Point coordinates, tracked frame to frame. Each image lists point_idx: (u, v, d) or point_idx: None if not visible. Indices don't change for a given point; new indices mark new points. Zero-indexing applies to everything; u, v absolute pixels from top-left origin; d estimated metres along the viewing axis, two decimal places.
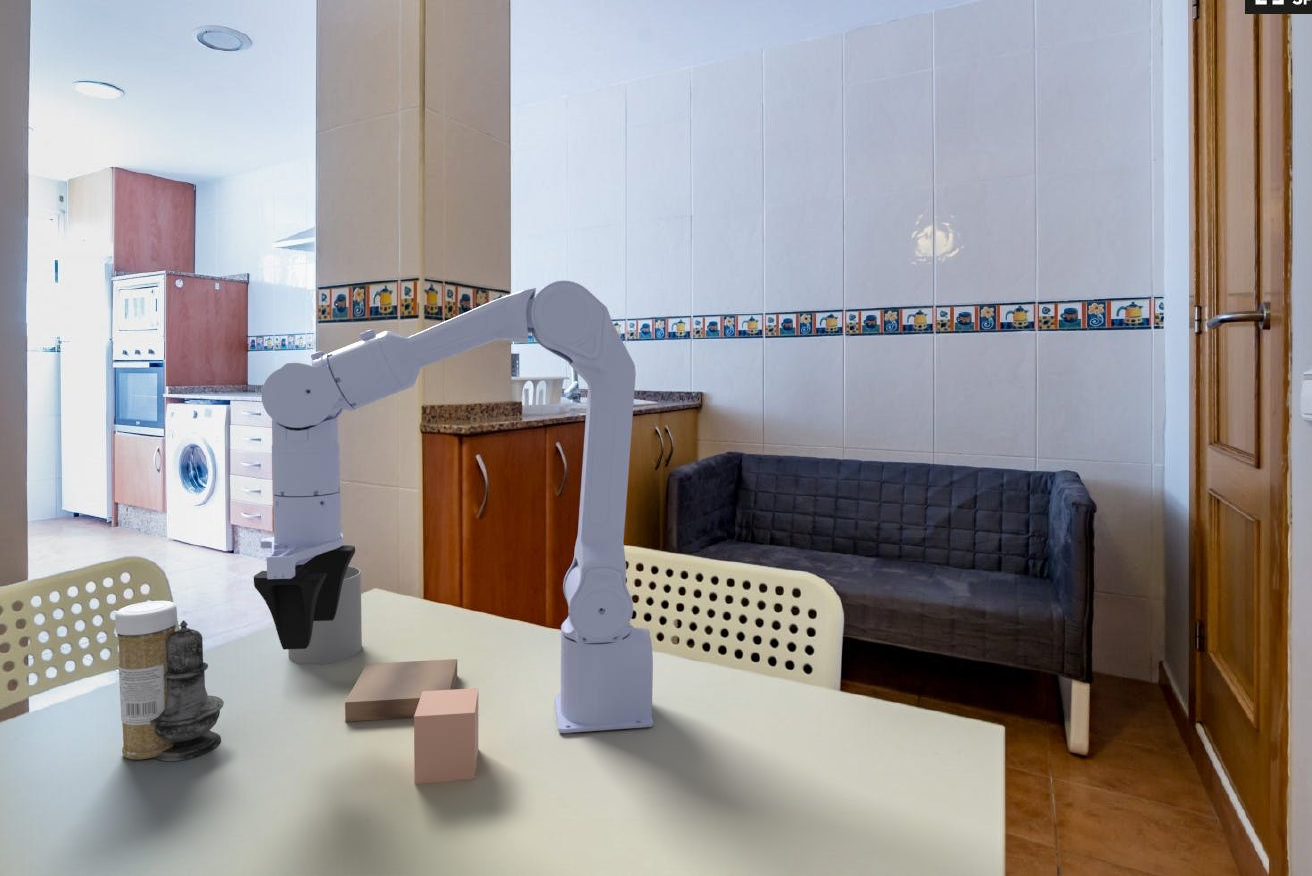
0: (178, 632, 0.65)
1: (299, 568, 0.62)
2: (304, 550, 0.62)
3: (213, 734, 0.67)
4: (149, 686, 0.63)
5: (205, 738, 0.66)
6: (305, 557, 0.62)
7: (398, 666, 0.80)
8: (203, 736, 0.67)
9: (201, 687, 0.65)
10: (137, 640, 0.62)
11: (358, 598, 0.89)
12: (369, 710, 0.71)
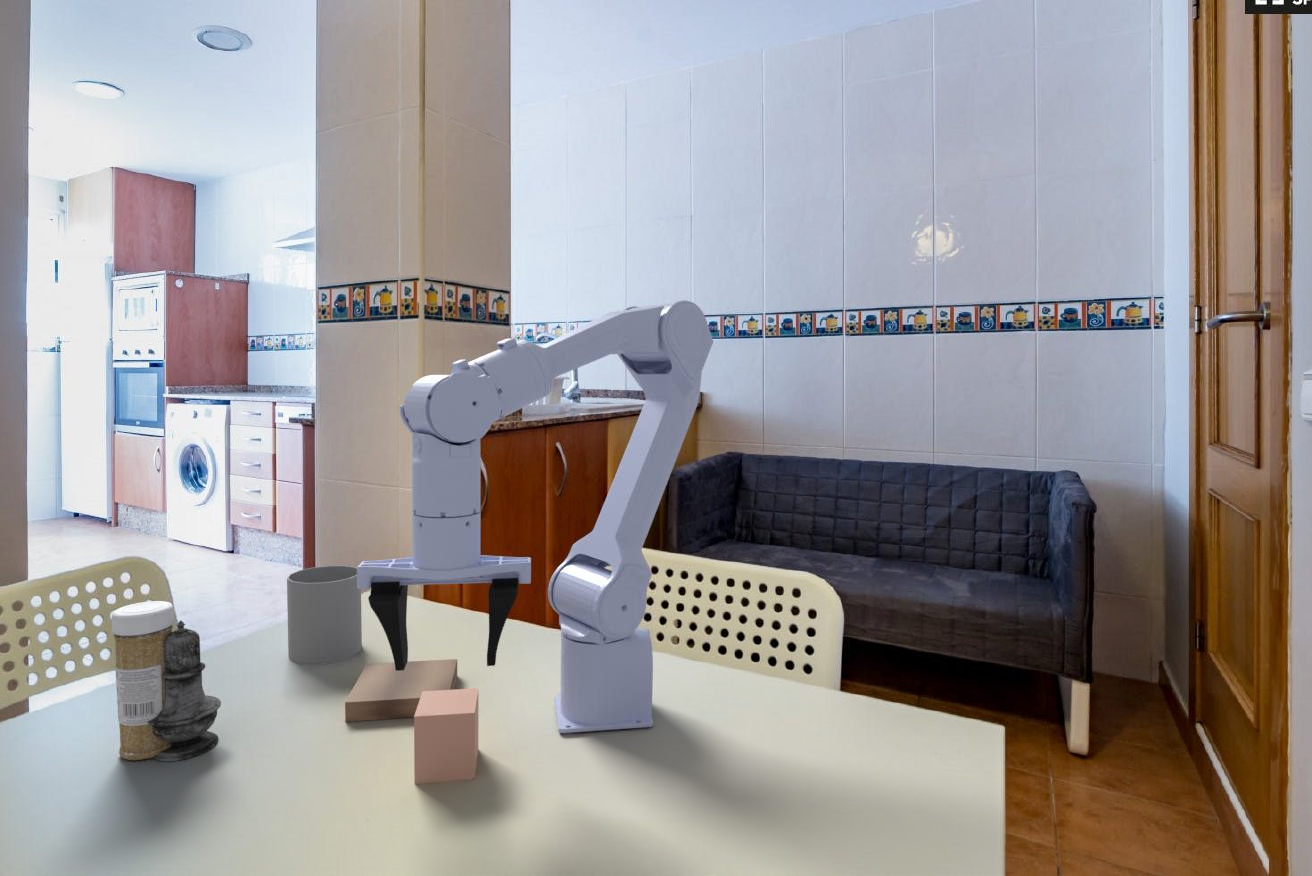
0: (175, 632, 0.64)
1: (386, 584, 0.60)
2: (385, 567, 0.60)
3: (210, 734, 0.67)
4: (146, 686, 0.63)
5: (202, 738, 0.66)
6: (383, 574, 0.60)
7: None
8: (200, 736, 0.67)
9: (199, 687, 0.65)
10: (134, 640, 0.62)
11: (358, 598, 0.89)
12: (369, 710, 0.71)
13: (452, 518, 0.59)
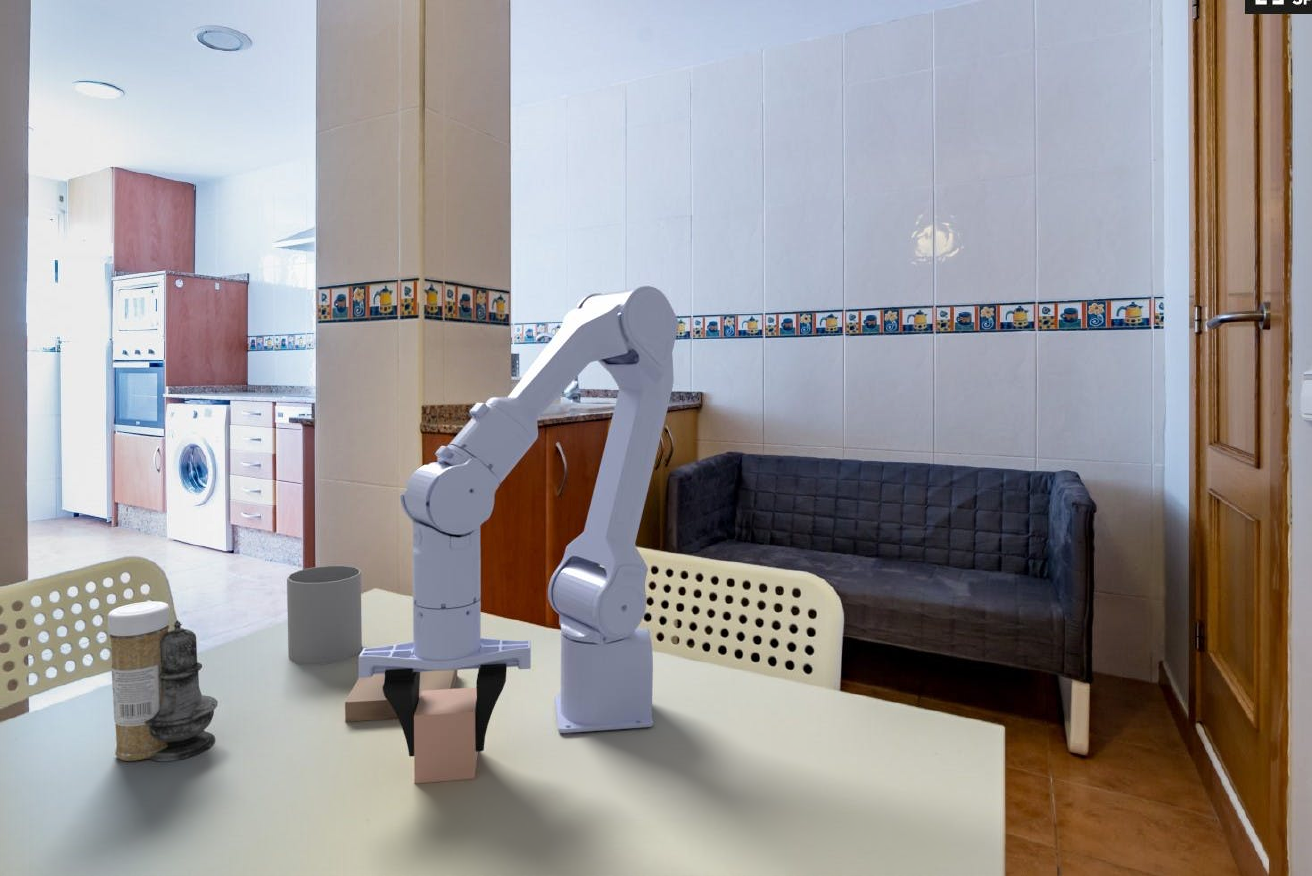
0: (172, 632, 0.64)
1: (387, 672, 0.61)
2: (386, 656, 0.60)
3: (207, 734, 0.67)
4: (143, 687, 0.63)
5: (199, 738, 0.66)
6: (384, 664, 0.60)
7: None
8: (197, 736, 0.67)
9: (196, 686, 0.65)
10: (131, 640, 0.62)
11: (358, 598, 0.89)
12: (369, 710, 0.71)
13: (452, 609, 0.60)
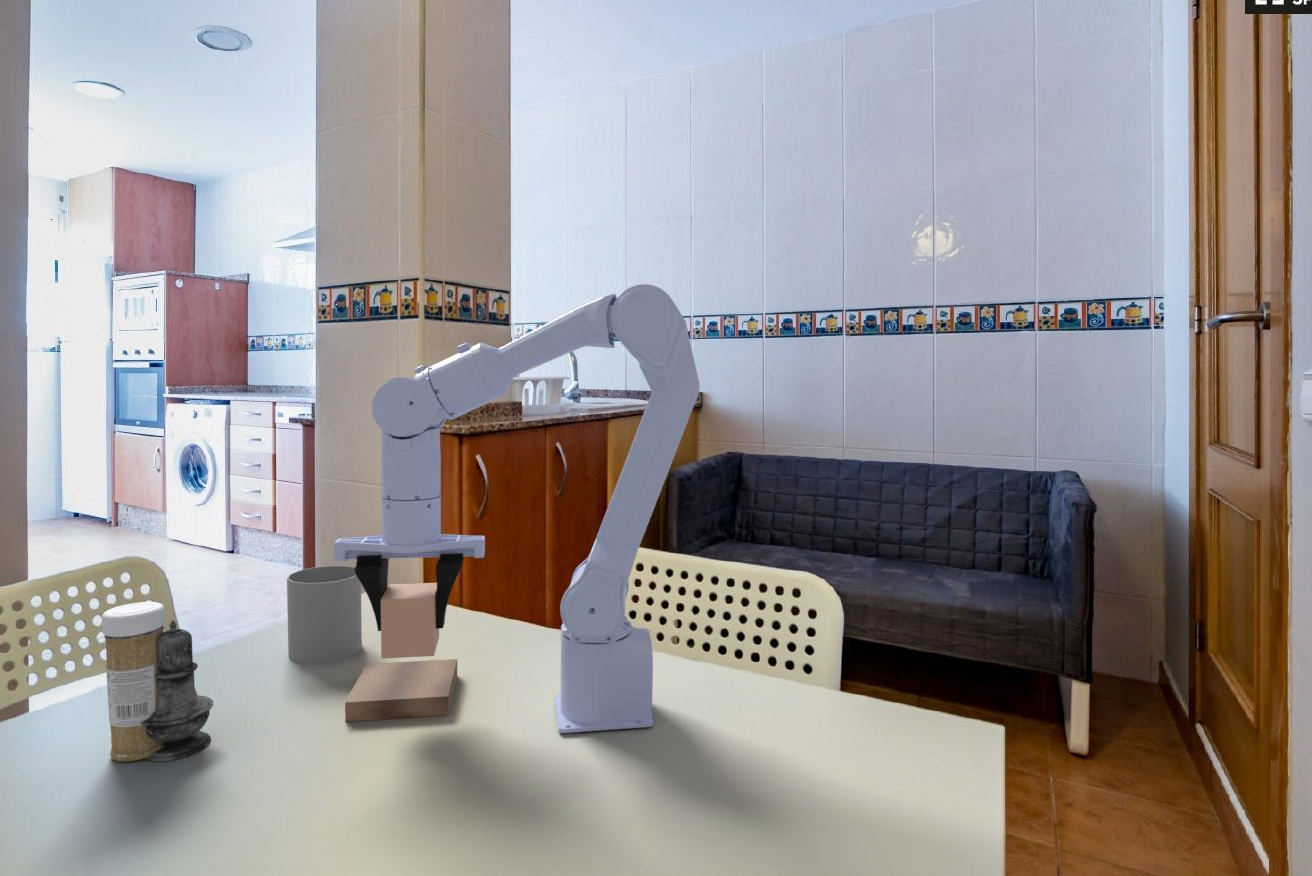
0: (168, 632, 0.64)
1: (359, 557, 0.71)
2: (358, 542, 0.70)
3: (202, 733, 0.67)
4: (140, 687, 0.63)
5: (195, 737, 0.66)
6: (356, 549, 0.70)
7: (398, 666, 0.80)
8: (192, 736, 0.67)
9: (192, 686, 0.66)
10: (127, 641, 0.62)
11: (358, 598, 0.89)
12: (369, 710, 0.71)
13: (415, 501, 0.70)
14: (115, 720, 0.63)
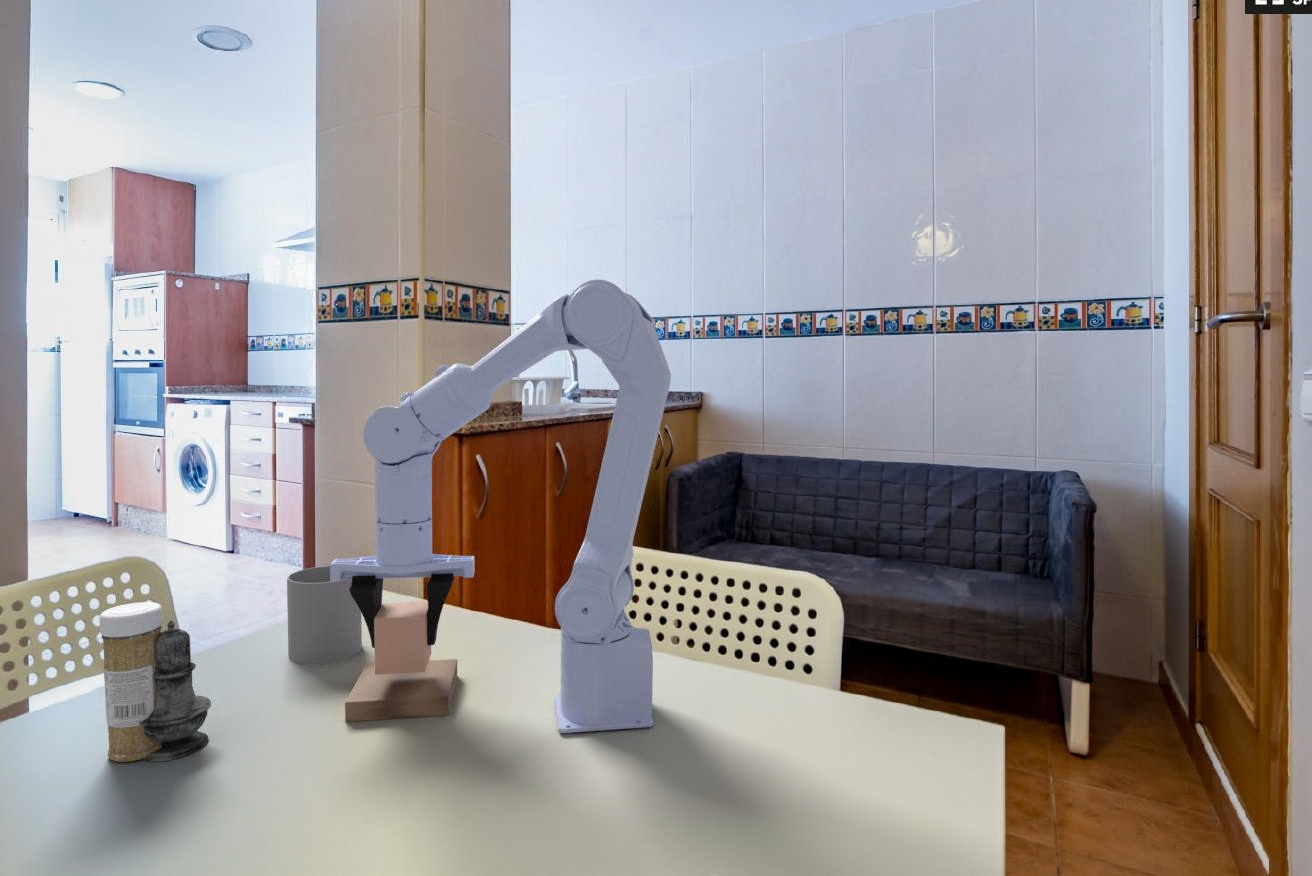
0: (166, 632, 0.64)
1: (354, 578, 0.74)
2: (353, 564, 0.74)
3: (200, 733, 0.67)
4: (138, 687, 0.63)
5: (193, 737, 0.66)
6: (351, 570, 0.74)
7: None
8: (190, 736, 0.67)
9: (190, 686, 0.66)
10: (126, 641, 0.62)
11: None
12: (369, 710, 0.71)
13: (407, 524, 0.73)
14: (113, 720, 0.62)
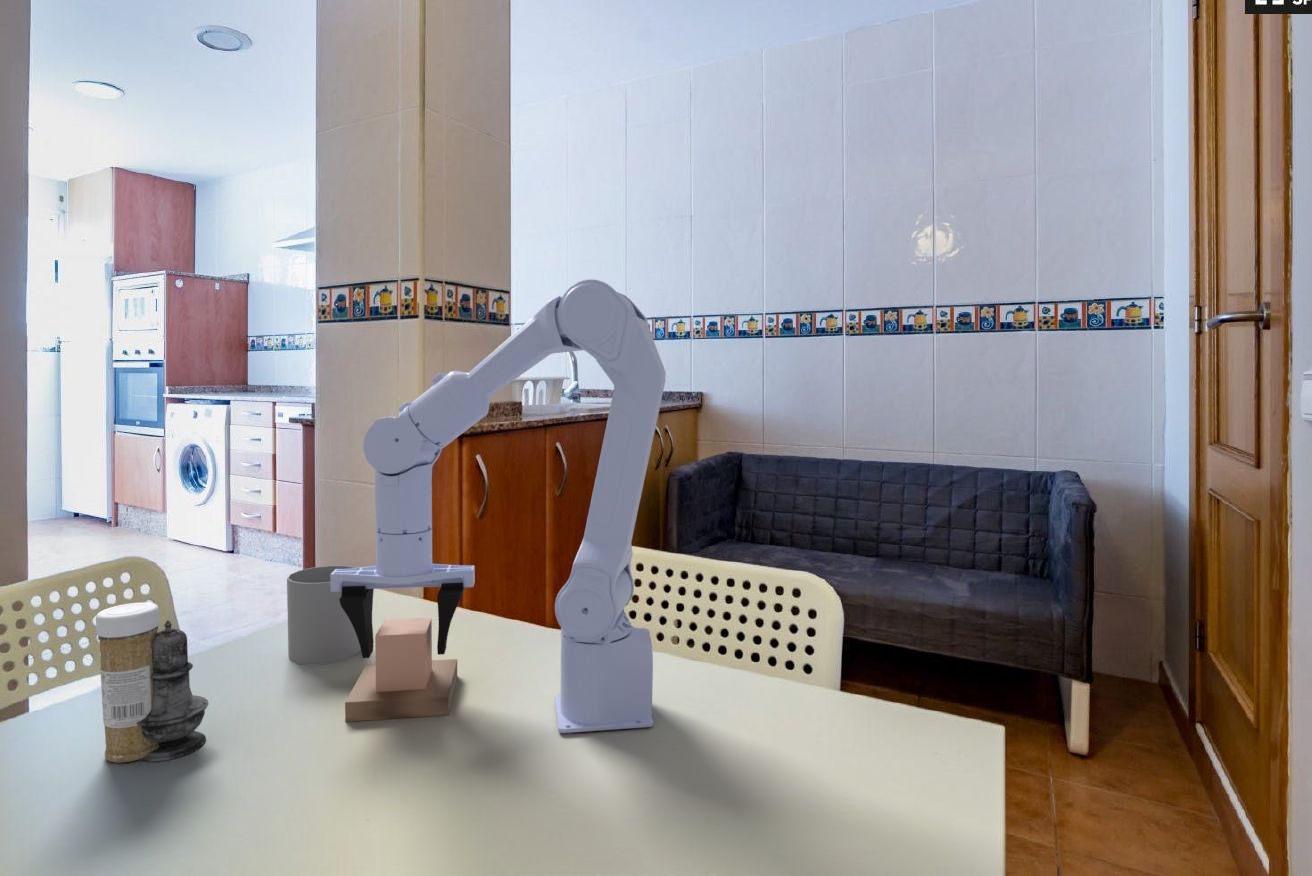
0: (163, 632, 0.64)
1: (354, 588, 0.74)
2: (353, 574, 0.74)
3: (197, 733, 0.67)
4: (136, 687, 0.63)
5: (190, 737, 0.66)
6: (351, 580, 0.74)
7: None
8: (187, 735, 0.67)
9: (188, 686, 0.66)
10: (123, 641, 0.62)
11: None
12: (369, 710, 0.71)
13: (407, 534, 0.73)
14: (110, 721, 0.62)
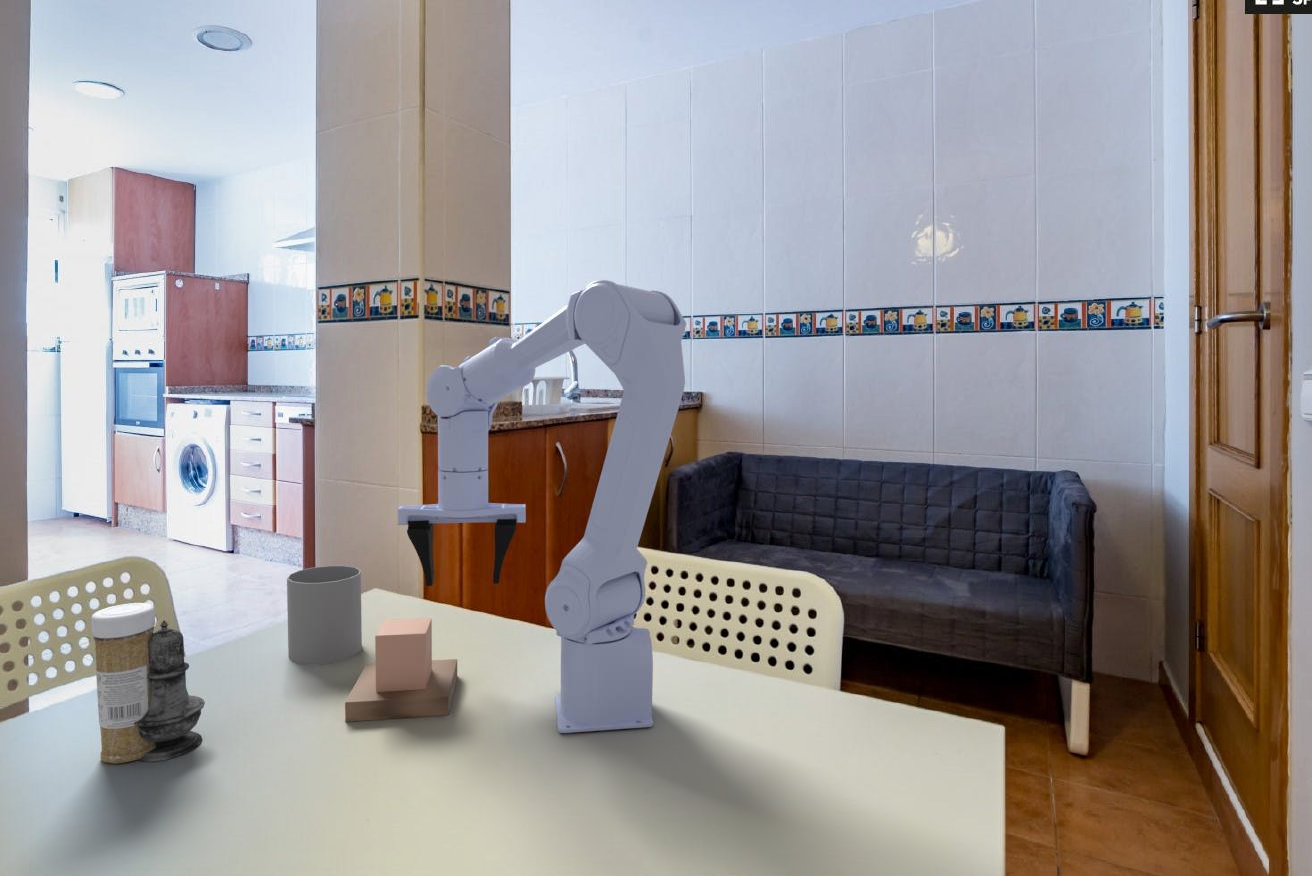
0: (160, 632, 0.64)
1: (419, 522, 0.82)
2: (418, 509, 0.82)
3: (193, 732, 0.67)
4: (133, 688, 0.63)
5: (186, 737, 0.67)
6: (417, 514, 0.81)
7: None
8: (183, 735, 0.67)
9: (184, 685, 0.66)
10: (120, 642, 0.62)
11: (358, 598, 0.89)
12: (369, 710, 0.71)
13: (468, 472, 0.81)
14: (107, 722, 0.62)
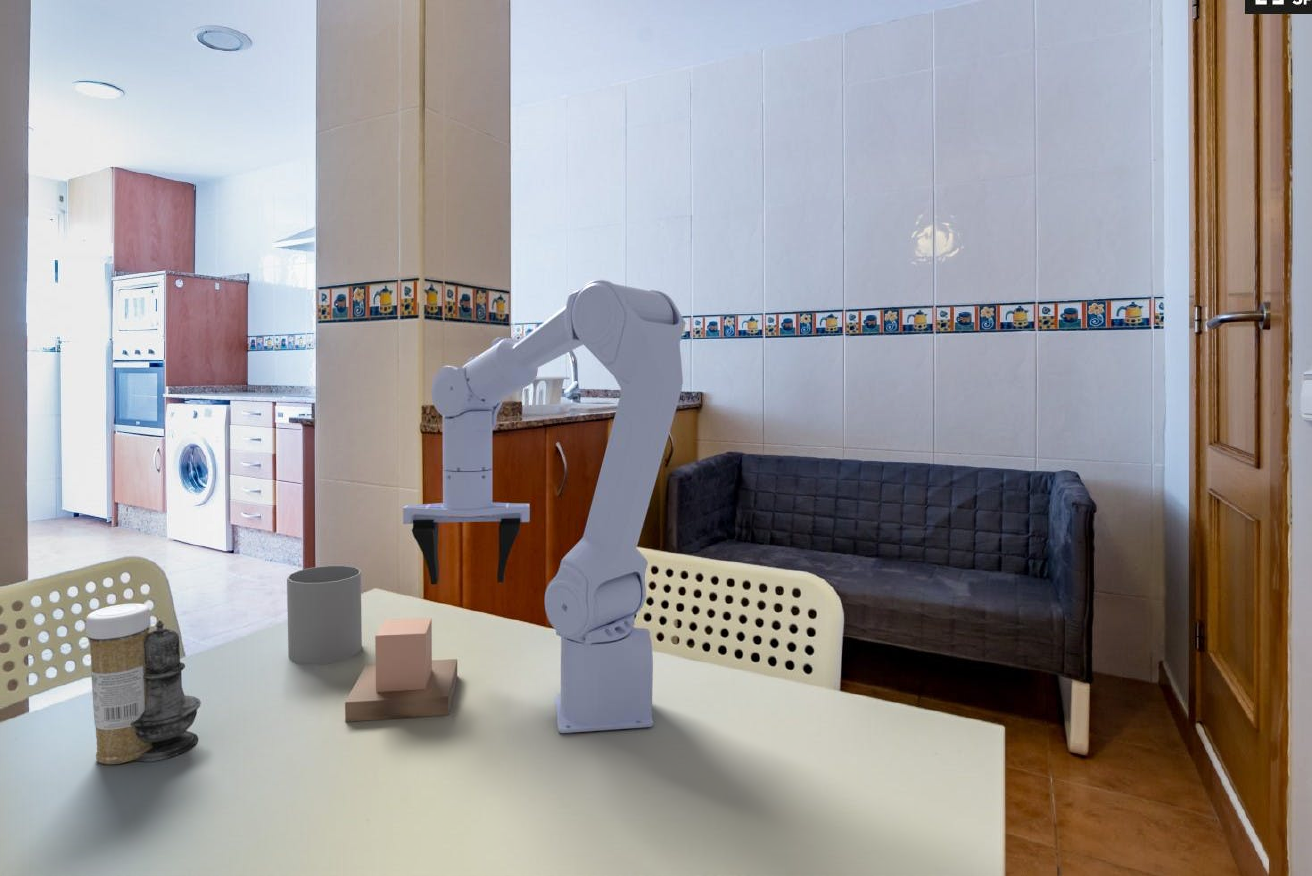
0: (155, 632, 0.64)
1: (424, 521, 0.83)
2: (423, 508, 0.82)
3: (188, 732, 0.67)
4: (130, 688, 0.63)
5: (182, 736, 0.67)
6: (422, 513, 0.82)
7: None
8: (178, 735, 0.67)
9: (180, 685, 0.66)
10: (116, 642, 0.62)
11: (358, 598, 0.89)
12: (369, 710, 0.71)
13: (472, 472, 0.82)
14: (103, 723, 0.62)
